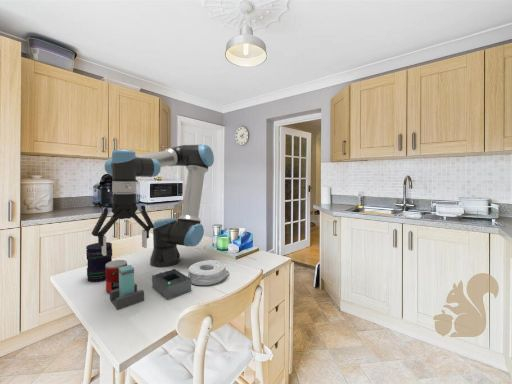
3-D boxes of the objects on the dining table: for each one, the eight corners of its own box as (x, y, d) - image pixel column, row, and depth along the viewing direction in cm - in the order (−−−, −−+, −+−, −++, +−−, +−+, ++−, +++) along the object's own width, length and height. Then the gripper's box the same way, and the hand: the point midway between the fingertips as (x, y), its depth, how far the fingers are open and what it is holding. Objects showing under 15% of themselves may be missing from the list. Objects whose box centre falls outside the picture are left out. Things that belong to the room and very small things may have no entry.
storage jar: (83, 283, 103) (81, 249, 102) (92, 274, 113) (90, 242, 112) (109, 281, 106) (108, 247, 105) (115, 272, 115) (115, 241, 114)
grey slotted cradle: (110, 300, 91) (109, 291, 90) (135, 291, 97) (135, 283, 97) (117, 309, 84) (117, 300, 84) (144, 300, 91) (144, 291, 90)
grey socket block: (152, 287, 101) (152, 273, 101) (174, 279, 108) (174, 267, 108) (167, 299, 91) (167, 284, 91) (191, 290, 99) (191, 276, 98)
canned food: (112, 295, 94) (111, 268, 93) (102, 290, 98) (101, 263, 97) (131, 288, 100) (131, 262, 99) (121, 283, 104) (120, 258, 103)
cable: (231, 273, 118) (231, 260, 117) (218, 289, 101) (218, 275, 100) (198, 269, 122) (198, 257, 121) (180, 284, 105) (180, 271, 104)
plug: (119, 298, 91) (118, 267, 90) (130, 295, 93) (130, 264, 92) (122, 303, 88) (122, 270, 87) (134, 299, 91) (134, 267, 90)
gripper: (85, 195, 76) (86, 261, 77) (162, 192, 94) (162, 246, 95) (80, 193, 81) (82, 255, 83) (154, 191, 99) (154, 242, 100)
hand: (125, 250), depth 89 cm, fingers open, 13 cm apart
